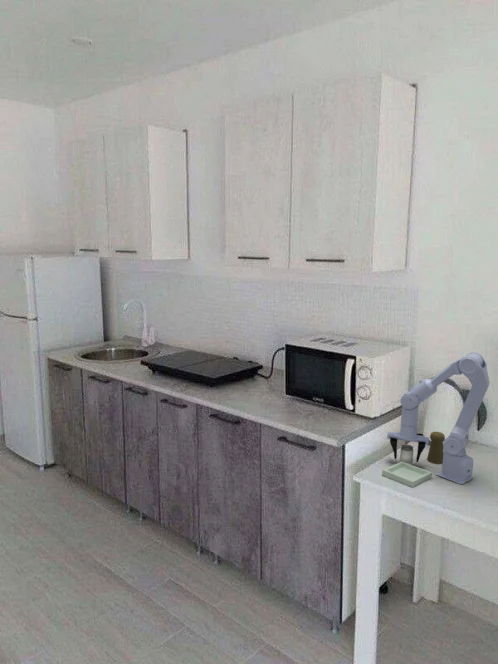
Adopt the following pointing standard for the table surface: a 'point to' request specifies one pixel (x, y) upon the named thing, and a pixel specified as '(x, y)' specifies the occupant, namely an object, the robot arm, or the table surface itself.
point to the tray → (407, 474)
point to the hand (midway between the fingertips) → (406, 459)
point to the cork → (436, 448)
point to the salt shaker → (406, 454)
